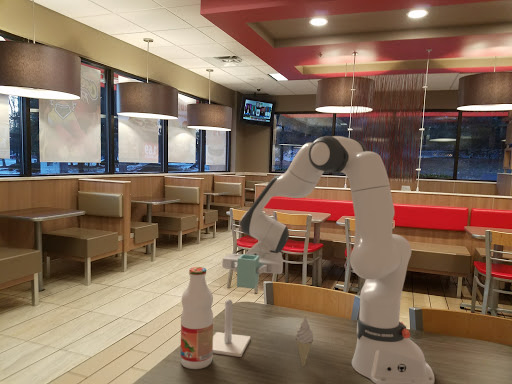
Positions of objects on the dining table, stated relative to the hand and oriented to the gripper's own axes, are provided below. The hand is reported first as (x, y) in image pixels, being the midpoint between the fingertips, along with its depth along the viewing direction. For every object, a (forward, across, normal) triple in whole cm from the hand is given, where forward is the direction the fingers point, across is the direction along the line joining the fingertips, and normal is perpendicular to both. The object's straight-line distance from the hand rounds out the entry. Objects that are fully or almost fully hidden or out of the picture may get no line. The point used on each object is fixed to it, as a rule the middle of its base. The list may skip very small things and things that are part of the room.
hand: (247, 270), depth 118 cm
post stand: (0, -6, +26) cm, 26 cm away
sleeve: (-1, 0, +5) cm, 5 cm away
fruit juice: (+12, -12, +26) cm, 31 cm away
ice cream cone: (+6, +19, +25) cm, 32 cm away
